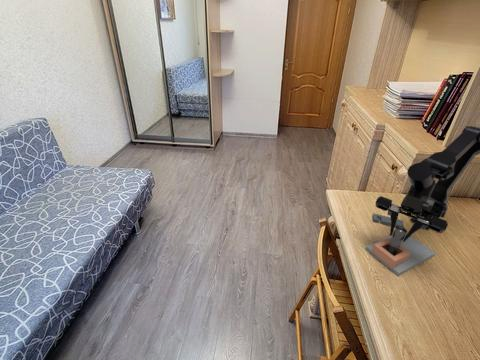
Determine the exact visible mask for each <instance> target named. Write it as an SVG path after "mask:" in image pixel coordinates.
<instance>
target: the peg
mask: <svg viewBox="0 0 480 360" xmlns="http://www.w3.org/2000/svg"><path fill="white" fill-rule="evenodd" d="M406 233H408V230H407V228H405V226H404V227H401V226H397V227H396V228H394V231H393V234H392V237H391V239H390V241H389V244H388V246H387V248H386V250H387V251H388V252H389V253H390V254H392V255H393V256H395V255H396V253H397V251H398V249H399V247H400V245H401V243H402V241H403V239H404V237H405V235H406Z"/></svg>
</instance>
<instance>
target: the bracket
mask: <svg viewBox="0 0 480 360" xmlns="http://www.w3.org/2000/svg"><path fill="white" fill-rule="evenodd" d="M371 218H372V222H373V223H376V224H380V225H383V226H387V227H391V216H385V215H383V214H378V213H373V214H372V216H371ZM397 226H401V227H404V228H405V226H404V220H401V219H398V218H397V221H396V224H395V228H394V229H396V227H397Z"/></svg>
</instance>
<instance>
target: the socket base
mask: <svg viewBox="0 0 480 360" xmlns="http://www.w3.org/2000/svg"><path fill="white" fill-rule="evenodd" d="M407 233H408V232H407ZM407 233H406V235H407ZM406 235H405V236H406ZM391 237H392V236H390V235H389V236H387V237H384V238H382V239H380V240H378V241H375V242H373V243H371V244H369V245H366V246H365V248H364V249H365V250H366V251H367V252H368V253H369V254H370V255H372V257H374V258H375V259H376V260H378V262H380V263H382V264H383V265H384V266H385V267H386V268H387V269H389V271H391V272H392V273H393V274H395V276H397V277H399V276H400V275H401V274H404V273H405V272H407V271H409V270H411V269H414V267H417V266H418V265H420V264H423V263H424V262H425V261H427V260H429V259H431V258H432V257H433V258H434V256H435V255H437V253H436V251H434V250H433V249H431V248H429V247H428V246H427V245H425V244H423V243H422V242H421V241H419V240H417V238H415V237H413V236H412V235H411V236H410V237H409V238H408V239H407V240H406V241H405V242H403V241H402V243H401V245H400V247H399V249H398V251H397V253H396V255H395V256H393V255H392V254H390V253H389V252H388V251H387V250H386V248H387V246H388V244H389V241H390V239H391ZM404 238H405V237H404ZM403 240H404V239H403Z"/></svg>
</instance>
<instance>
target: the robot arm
mask: <svg viewBox="0 0 480 360" xmlns="http://www.w3.org/2000/svg"><path fill="white" fill-rule="evenodd" d="M478 155H480V127H478V126H475V125H474V126H473V125H466V126H465V127H463V130H462V132H461V133H460V134H459V135H458V136H457V137H456V138H455V139H453V141H452V142H451V143H450V144H448V146H447V147H445V149H443V150H442V151H438V152H434V153H432V154H431V155H429V157H426V158H425V159H422V160H421V161H420V162H417V163H414V164H411V165H409V167H408V169H407V171H406V172H407V173H406V174H407V177H408V178H409V179H408V180H409V182H410V186H409V188H408V191H407V193H406V195H404V196H405V197H403V199H402V201H401V203H400V205H397V204H394V203H393V200H392V199H391V198H387V197H384V196H383V195H380V196H377V198H376V200H375V208H377V209H379V210H382V211H384V212H387V215H388V216H389V217H391V226H390V231H389V236H392V235H393V233H394V231H395V229H396V228H395V224H396V221H397V219H398V218H399V217H398V216H399V214H400V215H404V216H406V217H409V218H410V221H411V222H412V223H413V225H412V226H411V228H410V229H409V230H408V231H407V235H406V236H405V238H404V240H403V242H405V241H406V240H407V239H408V238H409V237H410V236H412V235H414V234H415V233H416V232H417V231H419V230H420V229H421V230H425V231H428V230H431V231H434V232H436V233H439V234H443V233H444V232H445V231H446V229H447V227H448V226H449V223H448V220H445V219H442V218H445V216H446V214H447V212H448V210H449V209H448V203H449V201H450V197H449V195H450V194H449V193H450V191H451V189H452V188H453V186H454V185H455V183H456V182H457V181H458V180H459V179H460V177H461V176H462V174H463V173H464V172H465V170H466V169H467V167H468V166H469V165H470V163H472V161H473V160H474V158H475V157H476V156H478ZM435 179H437V180H438V181H437V182H436V180H435Z"/></svg>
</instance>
